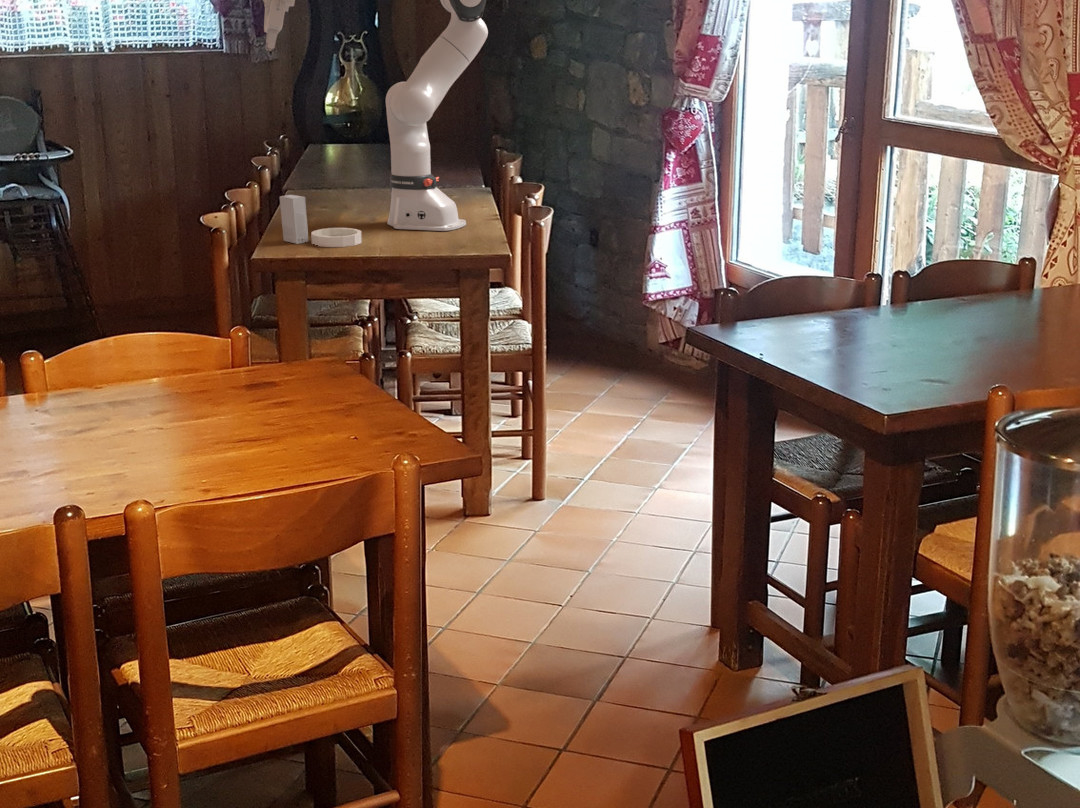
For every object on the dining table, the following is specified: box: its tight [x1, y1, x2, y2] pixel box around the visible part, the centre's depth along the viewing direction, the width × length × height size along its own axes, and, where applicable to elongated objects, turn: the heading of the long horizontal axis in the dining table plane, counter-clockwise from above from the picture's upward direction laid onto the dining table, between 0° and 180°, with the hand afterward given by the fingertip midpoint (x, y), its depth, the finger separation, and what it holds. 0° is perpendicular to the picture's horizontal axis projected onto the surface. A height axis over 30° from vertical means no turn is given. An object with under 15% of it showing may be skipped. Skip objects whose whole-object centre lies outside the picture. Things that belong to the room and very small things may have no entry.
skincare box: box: [279, 194, 309, 245], centre depth 325 cm, size 6×4×12 cm
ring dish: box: [310, 227, 363, 248], centre depth 327 cm, size 13×13×3 cm
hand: (269, 49), depth 326 cm, fingers open, 8 cm apart
